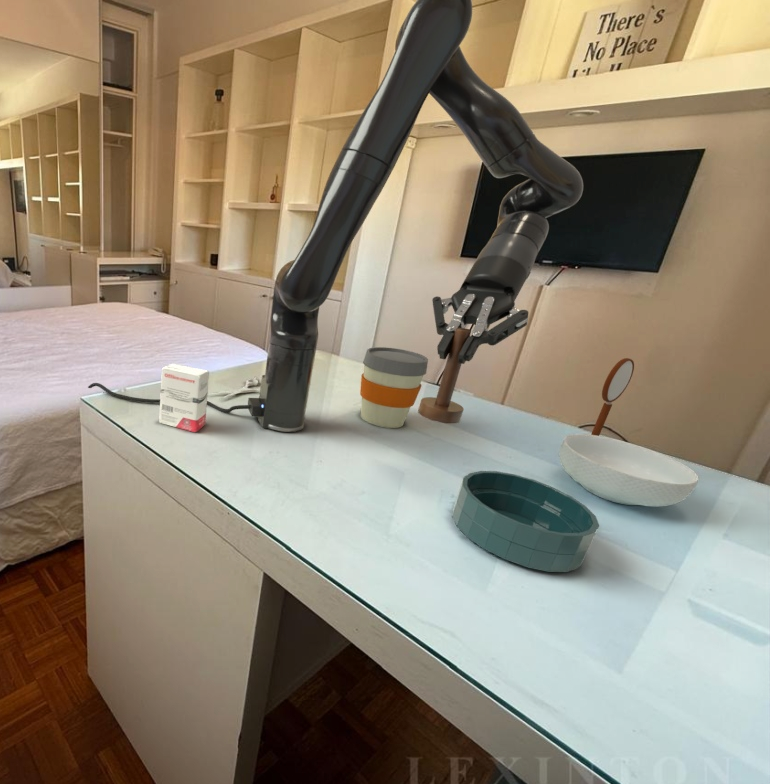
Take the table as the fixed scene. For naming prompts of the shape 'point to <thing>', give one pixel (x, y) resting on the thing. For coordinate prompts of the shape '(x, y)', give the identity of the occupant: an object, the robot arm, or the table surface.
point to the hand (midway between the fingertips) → (451, 357)
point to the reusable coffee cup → (390, 385)
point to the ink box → (183, 397)
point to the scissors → (243, 388)
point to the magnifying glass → (614, 389)
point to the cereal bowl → (625, 471)
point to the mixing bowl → (524, 521)
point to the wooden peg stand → (447, 386)
